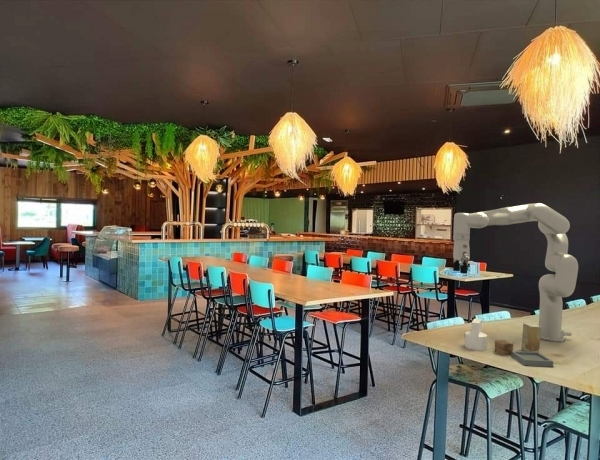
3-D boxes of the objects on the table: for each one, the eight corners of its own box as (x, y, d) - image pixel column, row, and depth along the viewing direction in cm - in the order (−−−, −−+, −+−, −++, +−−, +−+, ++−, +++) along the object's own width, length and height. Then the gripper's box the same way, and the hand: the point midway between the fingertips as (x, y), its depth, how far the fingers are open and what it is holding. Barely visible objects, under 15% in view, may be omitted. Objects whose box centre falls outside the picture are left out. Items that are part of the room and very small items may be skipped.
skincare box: (521, 349, 177) (522, 322, 177) (530, 349, 177) (531, 322, 177) (530, 354, 171) (531, 326, 170) (540, 354, 171) (541, 326, 171)
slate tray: (537, 357, 168) (537, 352, 167) (553, 366, 157) (553, 361, 156) (511, 356, 168) (511, 351, 168) (524, 365, 157) (525, 360, 157)
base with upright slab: (485, 352, 173) (486, 324, 172) (463, 347, 177) (464, 321, 177) (488, 346, 180) (489, 320, 180) (466, 343, 185) (467, 317, 185)
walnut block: (504, 351, 174) (504, 340, 174) (512, 355, 170) (513, 343, 169) (494, 351, 173) (494, 340, 173) (502, 355, 168) (503, 344, 168)
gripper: (476, 238, 189) (474, 274, 189) (462, 237, 206) (461, 270, 207) (460, 238, 189) (458, 274, 190) (447, 236, 206) (446, 269, 207)
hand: (459, 272), depth 198 cm, fingers open, 9 cm apart
